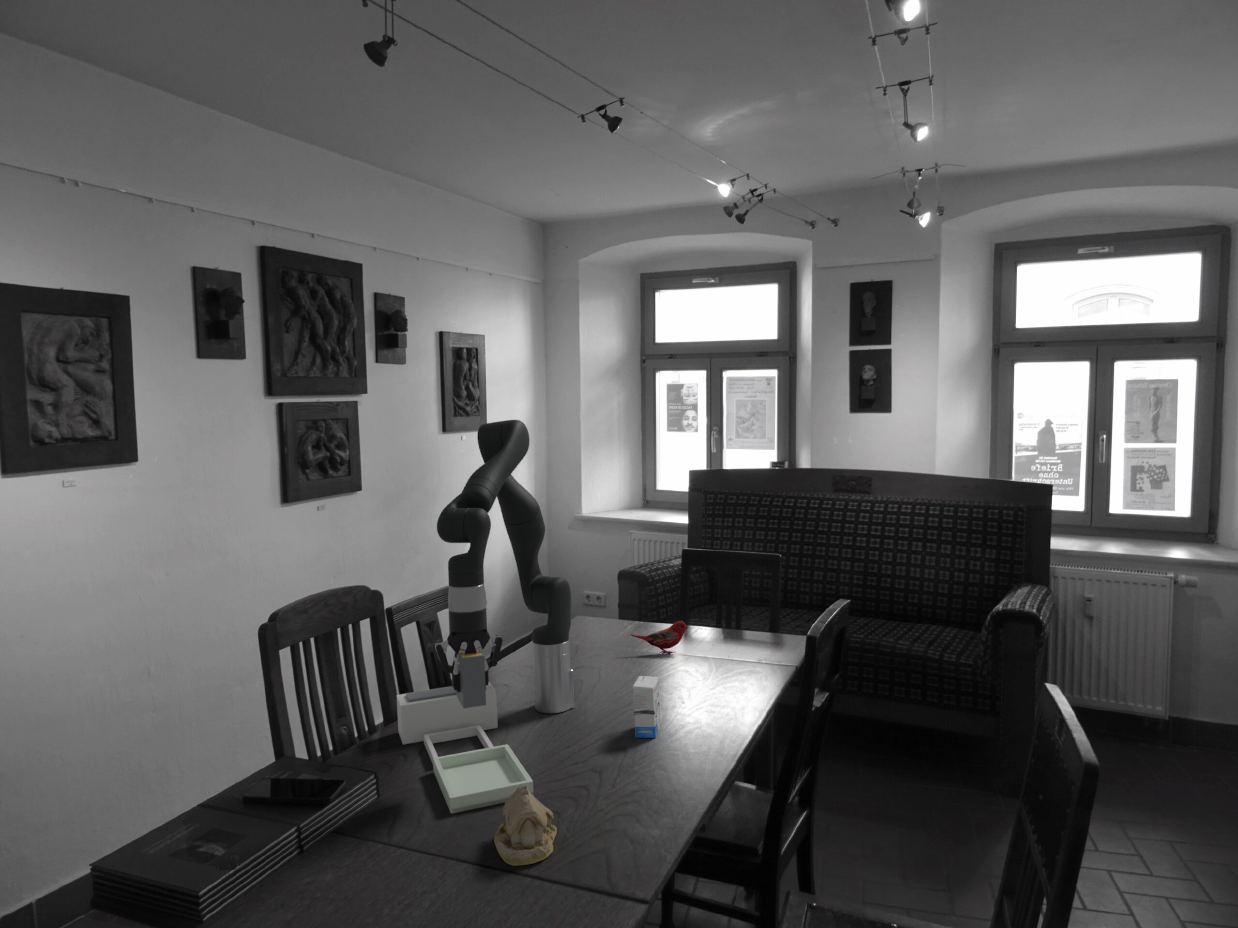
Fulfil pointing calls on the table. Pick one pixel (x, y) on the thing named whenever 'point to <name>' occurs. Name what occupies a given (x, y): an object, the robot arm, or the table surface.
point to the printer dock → (444, 717)
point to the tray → (480, 777)
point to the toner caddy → (472, 680)
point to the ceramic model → (525, 830)
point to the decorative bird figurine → (666, 637)
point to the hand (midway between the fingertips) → (470, 689)
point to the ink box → (646, 707)
